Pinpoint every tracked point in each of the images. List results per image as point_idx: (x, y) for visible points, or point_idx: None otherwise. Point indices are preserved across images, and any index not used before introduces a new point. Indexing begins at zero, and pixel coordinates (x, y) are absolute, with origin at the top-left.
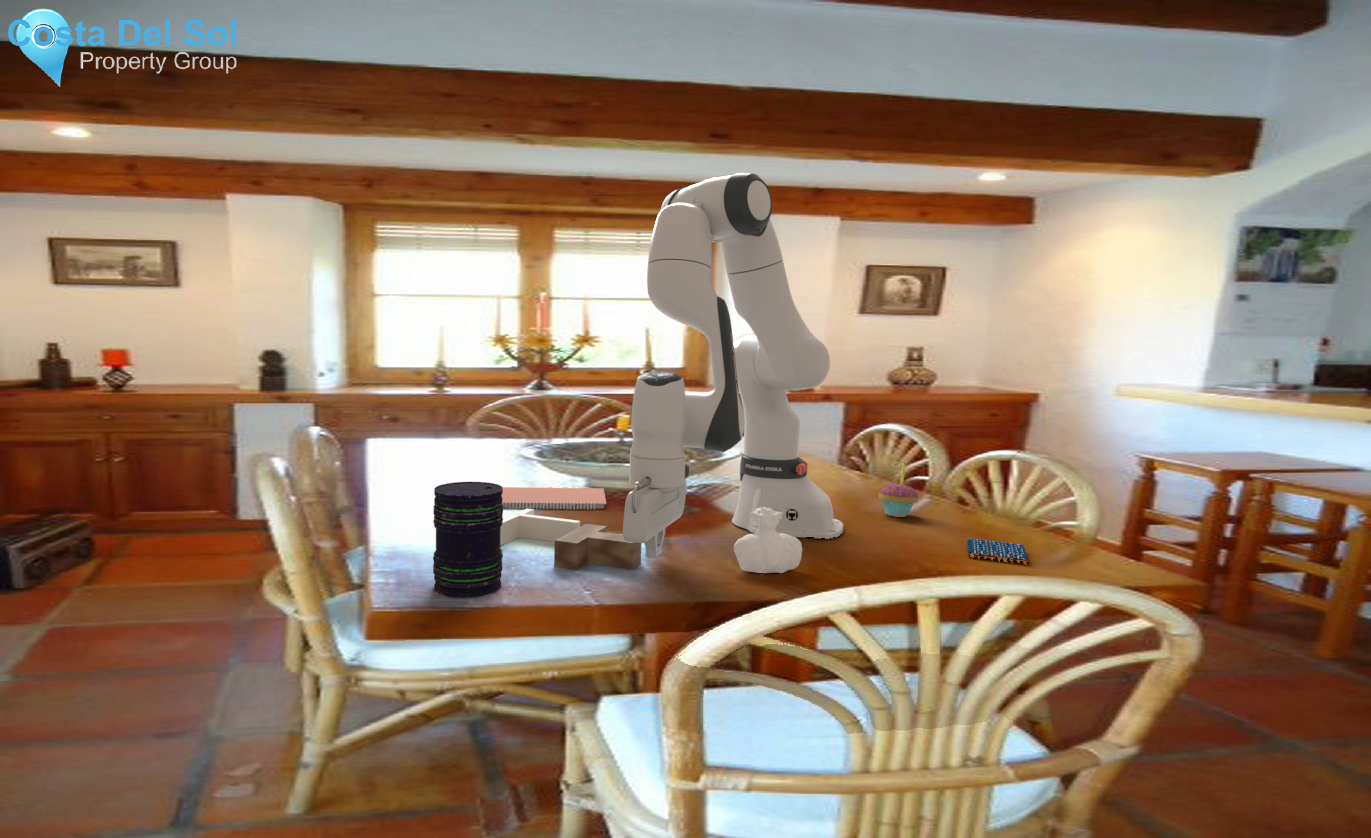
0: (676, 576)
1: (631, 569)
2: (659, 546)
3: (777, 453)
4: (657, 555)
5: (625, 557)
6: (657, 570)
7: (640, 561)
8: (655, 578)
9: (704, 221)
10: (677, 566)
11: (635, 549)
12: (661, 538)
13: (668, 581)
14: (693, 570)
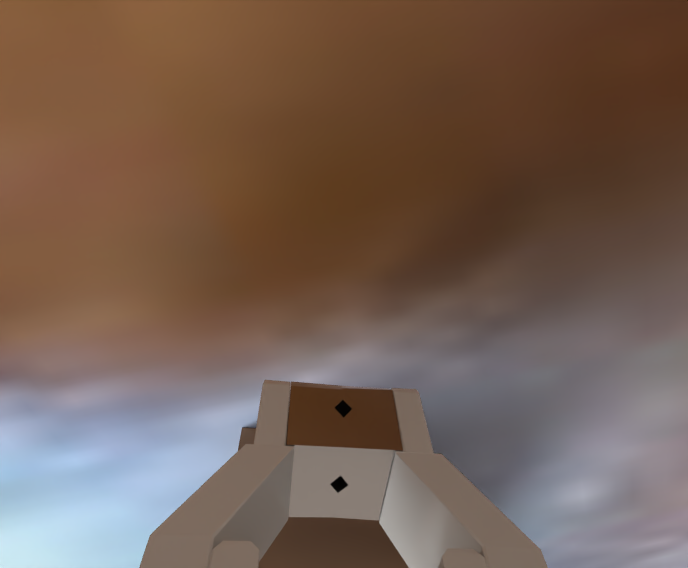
0: (465, 153)
1: None
2: (327, 440)
3: None
4: (374, 390)
5: None
6: (355, 311)
7: (246, 438)
8: (538, 285)
9: None
10: (198, 201)
11: (353, 544)
12: (252, 498)
13: (599, 187)
14: (251, 36)
